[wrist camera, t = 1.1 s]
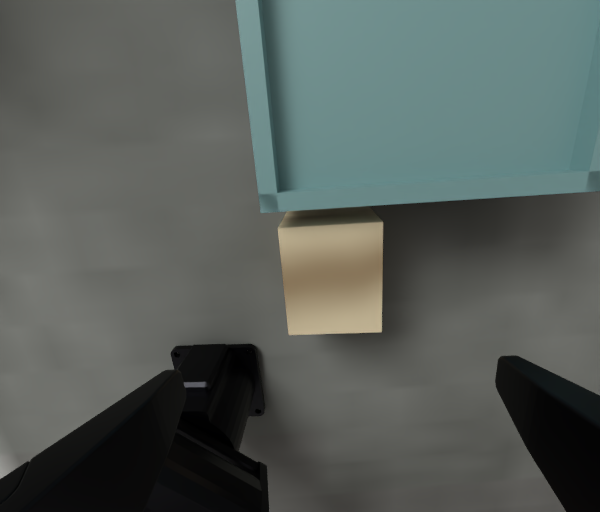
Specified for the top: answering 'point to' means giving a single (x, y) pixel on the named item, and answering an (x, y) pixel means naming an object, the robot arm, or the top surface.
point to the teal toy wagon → (420, 99)
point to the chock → (332, 270)
